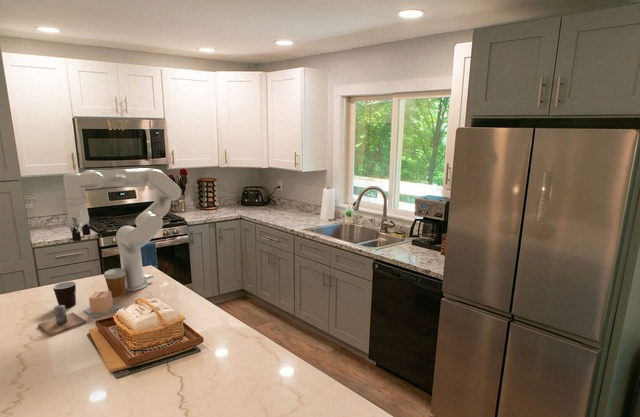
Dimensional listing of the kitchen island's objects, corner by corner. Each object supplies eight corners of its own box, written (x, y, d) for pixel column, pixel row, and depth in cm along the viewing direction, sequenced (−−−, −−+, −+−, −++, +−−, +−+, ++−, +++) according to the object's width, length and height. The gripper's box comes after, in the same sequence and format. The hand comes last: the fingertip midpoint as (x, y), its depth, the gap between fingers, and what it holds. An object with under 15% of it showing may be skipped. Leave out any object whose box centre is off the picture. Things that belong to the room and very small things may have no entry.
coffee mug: (70, 309, 175) (67, 288, 173) (51, 309, 175) (48, 289, 173) (86, 298, 186) (83, 278, 184) (68, 298, 187) (65, 278, 184)
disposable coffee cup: (107, 293, 192) (103, 269, 190) (128, 289, 196) (125, 266, 194) (105, 300, 184) (102, 276, 181) (128, 296, 188) (125, 273, 185)
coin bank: (97, 306, 177) (95, 291, 175) (113, 305, 177) (111, 290, 176) (91, 313, 170) (88, 297, 169) (107, 312, 171) (105, 296, 170)
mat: (109, 302, 182) (109, 301, 182) (121, 308, 175) (120, 307, 175) (83, 311, 173) (83, 310, 173) (95, 318, 167) (95, 317, 166)
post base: (73, 314, 171) (70, 297, 169) (86, 323, 163) (83, 305, 161) (38, 326, 160) (35, 308, 159) (50, 336, 153) (47, 317, 151)
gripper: (76, 197, 183) (81, 233, 187) (57, 205, 166) (63, 243, 170) (93, 197, 184) (98, 232, 188) (76, 204, 167) (82, 242, 171)
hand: (82, 237), depth 179 cm, fingers open, 9 cm apart
